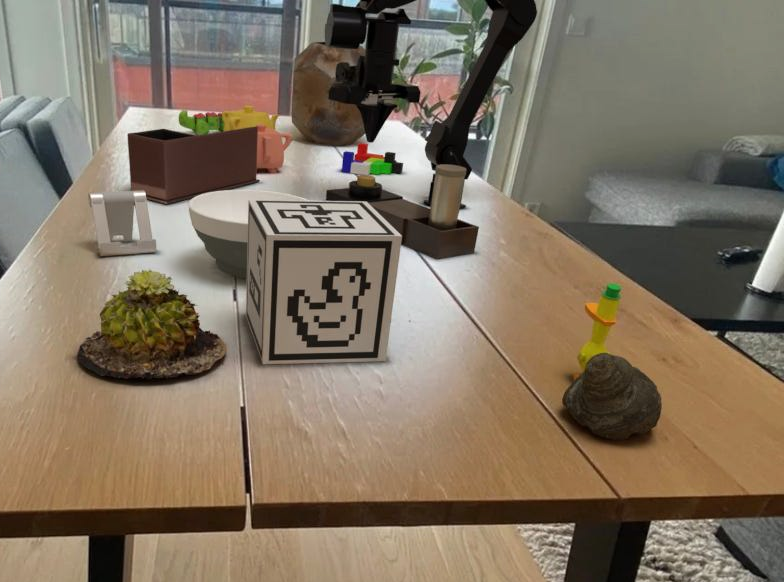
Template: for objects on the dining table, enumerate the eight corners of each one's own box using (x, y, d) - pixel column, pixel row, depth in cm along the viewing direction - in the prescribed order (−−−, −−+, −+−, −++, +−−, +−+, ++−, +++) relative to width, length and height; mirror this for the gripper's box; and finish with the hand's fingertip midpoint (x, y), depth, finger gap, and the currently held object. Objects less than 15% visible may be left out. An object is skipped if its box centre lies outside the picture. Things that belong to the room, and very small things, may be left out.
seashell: (534, 348, 83) (567, 389, 74) (638, 294, 80) (685, 330, 72) (567, 427, 89) (601, 473, 80) (665, 379, 86) (712, 421, 78)
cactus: (91, 394, 81) (82, 306, 75) (66, 336, 93) (57, 256, 87) (245, 374, 87) (247, 291, 82) (203, 322, 99) (203, 247, 94)
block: (262, 364, 90) (267, 235, 81) (245, 316, 102) (248, 199, 94) (385, 361, 93) (402, 236, 84) (354, 314, 105) (366, 201, 97)
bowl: (218, 297, 107) (218, 228, 102) (171, 255, 121) (169, 192, 116) (339, 283, 115) (345, 218, 110) (282, 245, 129) (285, 186, 124)
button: (366, 183, 157) (367, 174, 156) (378, 187, 154) (379, 178, 153) (353, 184, 155) (353, 175, 154) (363, 188, 152) (364, 179, 151)
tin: (439, 241, 136) (451, 163, 129) (459, 248, 133) (472, 169, 126) (418, 244, 134) (429, 165, 127) (437, 252, 130) (450, 171, 123)
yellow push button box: (371, 196, 163) (373, 176, 161) (401, 207, 156) (404, 187, 154) (325, 201, 157) (327, 180, 155) (355, 213, 150) (357, 192, 148)
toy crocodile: (243, 131, 219) (243, 108, 216) (251, 135, 214) (251, 111, 211) (175, 131, 212) (175, 107, 208) (182, 136, 207) (182, 111, 203)
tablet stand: (102, 258, 118) (97, 202, 113) (90, 243, 124) (86, 189, 119) (156, 254, 121) (154, 199, 117) (143, 239, 127) (140, 187, 122)
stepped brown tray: (400, 223, 146) (403, 198, 144) (474, 253, 133) (479, 226, 130) (361, 228, 141) (363, 203, 139) (434, 259, 128) (438, 232, 126)
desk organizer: (127, 194, 151) (123, 132, 145) (222, 174, 172) (222, 119, 166) (166, 205, 146) (164, 141, 140) (259, 182, 167) (261, 126, 161)
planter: (317, 130, 228) (323, 38, 214) (387, 144, 216) (398, 48, 203) (271, 138, 212) (274, 40, 199) (344, 153, 201) (353, 50, 188)
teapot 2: (251, 162, 185) (252, 118, 179) (293, 170, 180) (295, 125, 175) (223, 169, 176) (223, 123, 171) (267, 177, 171) (269, 130, 166)
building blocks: (394, 179, 178) (396, 159, 176) (341, 171, 181) (342, 152, 179) (407, 167, 190) (410, 149, 188) (358, 161, 193) (359, 142, 191)
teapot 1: (273, 146, 203) (274, 103, 197) (279, 156, 193) (281, 111, 187) (221, 144, 201) (221, 101, 195) (225, 154, 190) (225, 108, 185)
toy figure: (557, 368, 94) (582, 272, 87) (584, 368, 94) (612, 273, 88) (580, 393, 88) (610, 293, 82) (609, 393, 89) (641, 293, 82)
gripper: (388, 47, 151) (378, 132, 160) (313, 45, 141) (307, 136, 150) (428, 54, 144) (415, 143, 153) (352, 52, 134) (343, 147, 143)
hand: (370, 142), depth 150 cm, fingers closed
